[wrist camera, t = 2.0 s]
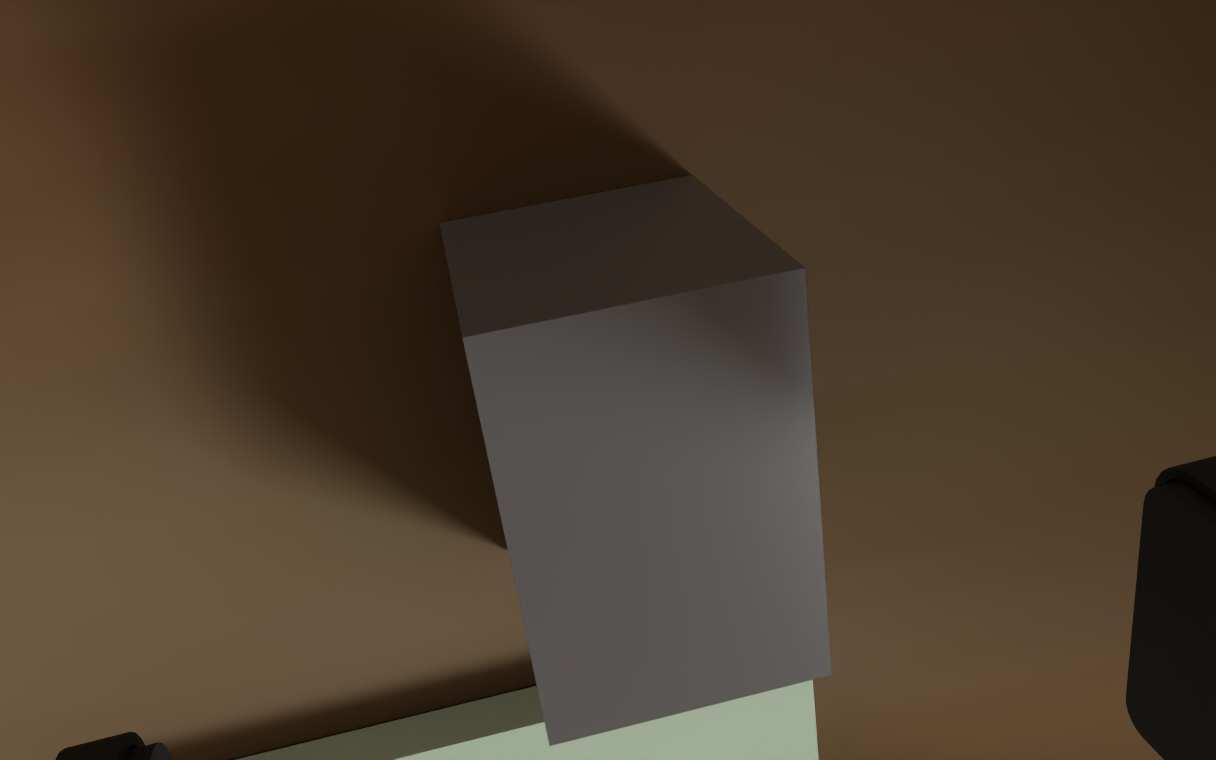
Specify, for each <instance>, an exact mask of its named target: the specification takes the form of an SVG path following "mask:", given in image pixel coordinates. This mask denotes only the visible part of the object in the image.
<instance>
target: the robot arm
mask: <svg viewBox="0 0 1216 760" xmlns="http://www.w3.org/2000/svg"><path fill="white" fill-rule="evenodd" d="M1126 704H1127V709H1128V713H1129V715H1130V718H1131V720H1132V722H1133V724H1134V726H1135V727H1136V729H1137V731H1138V732H1139V733H1140V735H1141V736H1142V737H1143V738H1144V739H1145V740H1146V741H1147V742H1148V743H1149V744H1150V745H1151V747H1152V748H1153V749H1154V750H1155V751H1156V752H1157V753H1158V754H1159V755H1160V756H1161V757H1162V758H1163V759H1164V760H1216V456H1214V457H1210V458H1206V459H1202V460H1198V461H1194V462H1190V463H1186V464H1182V465H1179V466H1175V467H1171V468H1168V469H1166V470H1164V471H1162V472H1161V473H1160V475H1159V476H1158V478H1157V479H1156V483H1155V487H1154V488H1152V489H1150V490H1149V491H1148V492H1147V494H1146V495H1145V500H1144V505H1143V516H1142V527H1141V538H1140V549H1139V560H1138V571H1137V582H1136V593H1135V603H1134V614H1133V625H1132V636H1131V647H1130V658H1129V669H1128V680H1127V691H1126ZM56 760H172V758H171V756H170V754H169V752H168V750H167V748H166V746H165V745H164V744H163V743H154V744H151V745H147V746H145V744H144V743H143V741H142V739H141V738H140V737H139V736H138V735H137V734H136V733H135V732H127V733H124V734H120V735H116V736H112V737H108V738H104V739H100V740H96V741H92V742H88V743H84V744H80V745H76V746H72V747H68V748H65V749H63V750H62V751H61V752H60V753H59V754H58V756H57V758H56Z"/></svg>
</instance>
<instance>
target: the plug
mask: <svg viewBox="0 0 1216 760" xmlns="http://www.w3.org/2000/svg"><path fill="white" fill-rule="evenodd" d="M439 225H440V230H441V235H442V240H443V244H444V249H445V254H446V259H447V264H448V269H449V274H450V279H451V284H452V289H453V294H454V299H455V304H456V309H457V314H458V318H459V323H460V328H461V333H462V338H463V343H464V348H465V352H466V357H467V362H468V366H469V371H470V376H471V380H472V385H473V390H474V394H475V399H476V404H477V408H478V413H479V418H480V422H481V427H482V432H483V437H484V441H485V446H486V451H487V455H488V460H489V465H490V469H491V474H492V479H493V483H494V488H495V493H496V497H497V502H498V507H499V511H500V516H501V521H502V525H503V530H504V535H505V540H506V544H507V549H508V554H509V558H510V563H511V568H512V572H513V577H514V582H515V586H516V591H517V596H518V600H519V605H520V610H521V614H522V619H523V624H524V628H525V633H526V638H527V643H528V647H529V652H530V657H531V661H532V666H533V671H534V675H535V680H536V685H537V689H538V694H539V699H540V703H541V708H542V713H543V717H544V722H545V727H546V731H547V736H548V741H549V746H552V745H556V744H560V743H564V742H568V741H572V740H576V739H580V738H584V737H588V736H592V735H596V734H600V733H604V732H608V731H612V730H616V729H620V728H624V727H628V726H632V725H636V724H640V723H643V722H647V721H651V720H655V719H659V718H663V717H667V716H671V715H675V714H679V713H683V712H687V711H691V710H695V709H699V708H703V707H707V706H711V705H715V704H719V703H723V702H727V701H731V700H735V699H738V698H742V697H746V696H750V695H754V694H758V693H762V692H766V691H770V690H774V689H778V688H782V687H786V686H790V685H794V684H798V683H802V682H806V681H810V680H814V679H818V678H822V677H826V676H830V675H831V659H830V644H829V629H828V613H827V598H826V582H825V567H824V552H823V536H822V521H821V506H820V490H819V475H818V459H817V444H816V429H815V413H814V398H813V382H812V367H811V352H810V336H809V321H808V305H807V290H806V275H805V268H804V267H803V266H802V265H801V264H800V263H798V262H797V261H796V260H795V259H794V258H792V257H791V256H790V255H789V254H787V253H786V252H785V251H784V250H783V249H781V248H780V247H779V246H778V245H777V244H775V243H774V242H773V241H772V240H770V239H769V238H768V237H767V236H766V235H764V234H763V233H762V232H761V231H760V230H758V229H757V228H756V227H755V226H753V225H752V224H751V223H750V222H749V221H747V220H746V219H745V218H744V217H743V216H741V215H740V214H739V213H738V212H736V211H735V210H734V209H733V208H732V207H730V206H729V205H728V204H727V203H725V202H724V201H723V200H722V199H721V198H719V197H718V196H717V195H716V194H715V193H713V192H712V191H711V190H710V189H708V188H707V187H706V186H705V185H704V184H702V183H701V182H700V181H699V180H698V179H696V178H695V177H694V176H693V175H689V176H684V177H679V178H673V179H668V180H663V181H657V182H652V183H647V184H642V185H636V186H631V187H626V188H621V189H615V190H610V191H605V192H600V193H594V194H589V195H584V196H579V197H573V198H568V199H563V200H558V201H552V202H547V203H542V204H537V205H531V206H526V207H521V208H515V209H510V210H505V211H500V212H494V213H489V214H484V215H479V216H473V217H468V218H463V219H458V220H452V221H447V222H442V223H439Z"/></svg>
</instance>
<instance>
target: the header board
mask: <svg viewBox="0 0 1216 760" xmlns="http://www.w3.org/2000/svg"><path fill="white" fill-rule="evenodd" d="M236 760H819V758H818V745H817V731H816V718H815V704H814V691H813V680H810V681H806V682H802V683H798V684H794V685H790V686H786V687H782V688H778V689H774V690H770V691H766V692H762V693H758V694H754V695H750V696H746V697H742V698H738V699H735V700H731V701H727V702H723V703H719V704H715V705H711V706H707V707H703V708H699V709H695V710H691V711H687V712H683V713H679V714H675V715H671V716H667V717H663V718H659V719H655V720H651V721H647V722H643V723H640V724H636V725H632V726H628V727H624V728H620V729H616V730H612V731H608V732H604V733H600V734H596V735H592V736H588V737H584V738H580V739H576V740H572V741H568V742H564V743H560V744H556V745H552V746H549V741H548V736H547V731H546V727H545V722H544V717H543V713H542V708H541V703H540V699H539V694H538V689H537V686H534V687H530V688H526V689H521V690H517V691H513V692H509V693H505V694H501V695H497V696H493V697H489V698H485V699H481V700H477V701H473V702H468V703H464V704H460V705H456V706H452V707H448V708H444V709H440V710H436V711H432V712H428V713H424V714H420V715H415V716H411V717H407V718H403V719H399V720H395V721H391V722H387V723H383V724H379V725H375V726H371V727H367V728H363V729H358V730H354V731H350V732H346V733H342V734H338V735H334V736H330V737H326V738H322V739H318V740H314V741H310V742H305V743H301V744H297V745H293V746H289V747H285V748H281V749H277V750H273V751H269V752H265V753H261V754H257V755H252V756H248V757H244V758H240V759H236Z"/></svg>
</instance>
